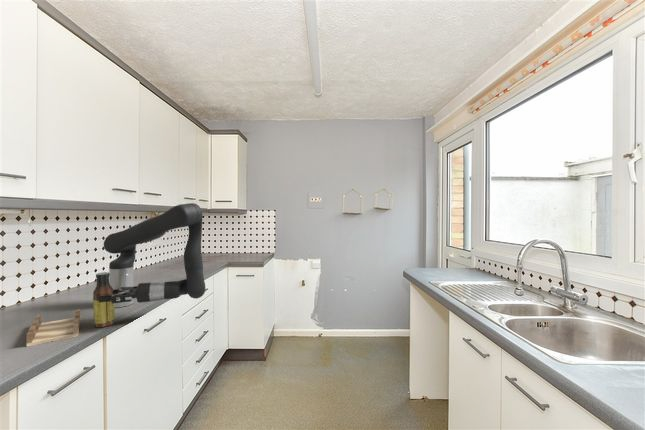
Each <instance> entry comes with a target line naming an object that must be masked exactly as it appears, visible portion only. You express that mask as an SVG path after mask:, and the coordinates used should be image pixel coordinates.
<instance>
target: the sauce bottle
mask: <svg viewBox="0 0 645 430" xmlns="http://www.w3.org/2000/svg"><path fill="white" fill-rule="evenodd" d="M109 276H110V275H109V271H103V272H98V273H96V274H95V278H96V286H95V289H94V290H93V291H92V292H93V293H92V294H93V295H92V301H93V302H92V304H93V321H94V327H96V328H105V327H108V326H111V325H113V324H114V323H115V317H116V316H115V315H116V314H115V307H114V303H112V302H99V297H100V296H106V295H113V288H112V287H111V285H110V284H109Z"/></svg>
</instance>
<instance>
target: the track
mask: <svg viewBox="0 0 645 430" xmlns="http://www.w3.org/2000/svg"><path fill="white" fill-rule="evenodd" d="M80 322H81V309H78V308H77V309H76V310H75V313H74V317H70V318H64V319H59V320H53V321H46V322H42V315H36V316H35V318H34V320H33V322H32V323H31V325H30V327H29V329H28V330H27V333H26V347H33V346H37V345H43V344H47V343H52V342H51V341H53V342H58V341H61V339H62V340H66V339H71V338H76V337H79V331H80V330H79V329H80Z"/></svg>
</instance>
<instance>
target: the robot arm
mask: <svg viewBox="0 0 645 430" xmlns="http://www.w3.org/2000/svg"><path fill="white" fill-rule="evenodd" d="M185 227H188V238H187V241H186V244H185V248H184V252H183V263H184V270H185V275H186V276H185V277H186V278H184V279H181V280H172V281H149V282H141V283H138V284H137V285H136V286H134V265H135V262H136V251H137V245H142V244H146V243H149V242H154V240H158V239H160V238H162V237H163V236H164V235H166V233H167V232H169V231H172V230H175V229H179V228H180V229H181V228H185ZM202 232H203V211H202V208H201V207H200V206H199V205H198V204H197V203H194V202H191V203H190V202H189V203H181V204H177V205H174V206H173V207H171V208H170V209H168V210H166V211H165V212H163V213H161V214H159V215H156V216H153V217H150V218H147V219H146V220H142V221H141V222H138V223H137V224H134V225H132V226H130V227H128V228H126V229H124V230H121V231H118V232H115V233H110V234H109V235H107V237H105V239H104V241H103V249H104V250H105V251H106V252H107V253H109V254H114V255H115V254H119V256H118V257H116V258H114V259H113V260H112V261H110V262H109V264H108V265H109V269H108V272H109V275H110V276H109V284H110V285H111V287H112V288H113V295H106V296H100V297H99V302H112V303H114V308H122V307H128V306H131V305H133V304H134V299H136V301H137V303H149V302H151V303H152V302H159V301H164V300H171V299H172V300H173V299H177V298H180V297H181V296H185V295H188V296H189V297H190V298H191V299H199V298H202V297H203V296H204V294H205V292H206V282H205V277H204V264H203V256H202V236H203V235H202V234H203V233H202Z"/></svg>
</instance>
